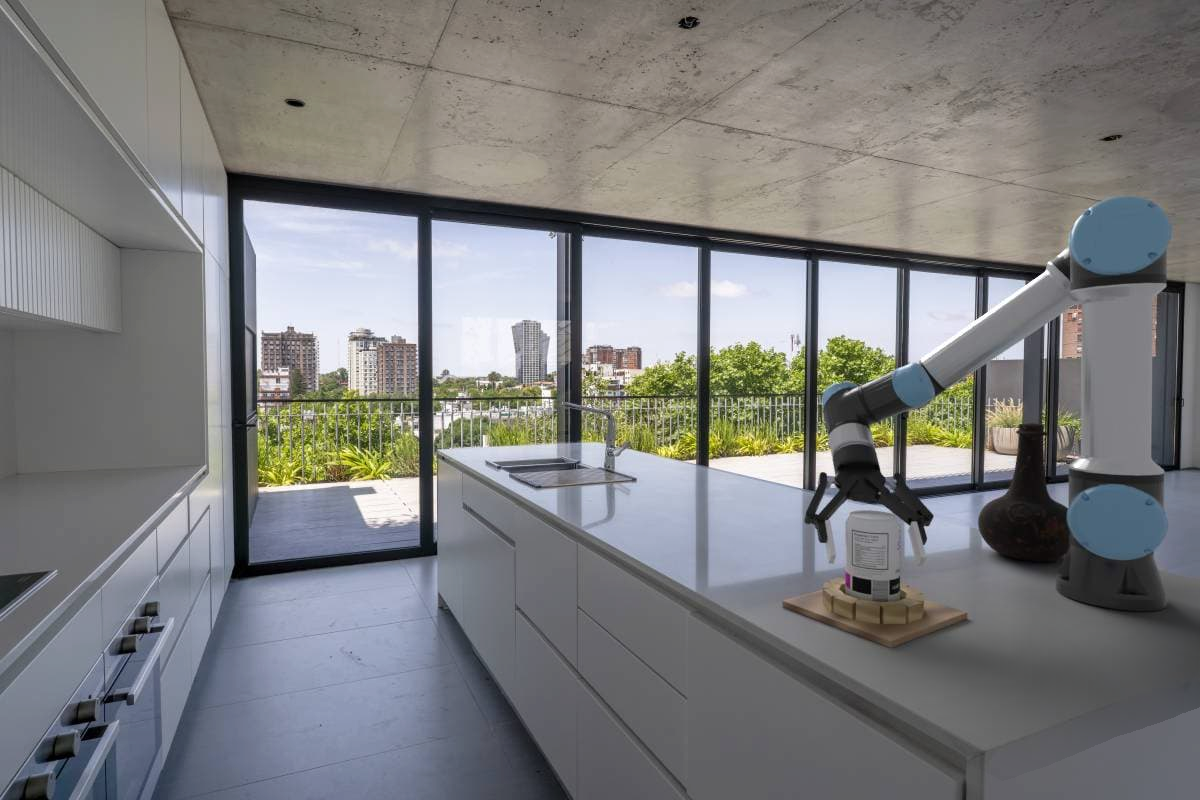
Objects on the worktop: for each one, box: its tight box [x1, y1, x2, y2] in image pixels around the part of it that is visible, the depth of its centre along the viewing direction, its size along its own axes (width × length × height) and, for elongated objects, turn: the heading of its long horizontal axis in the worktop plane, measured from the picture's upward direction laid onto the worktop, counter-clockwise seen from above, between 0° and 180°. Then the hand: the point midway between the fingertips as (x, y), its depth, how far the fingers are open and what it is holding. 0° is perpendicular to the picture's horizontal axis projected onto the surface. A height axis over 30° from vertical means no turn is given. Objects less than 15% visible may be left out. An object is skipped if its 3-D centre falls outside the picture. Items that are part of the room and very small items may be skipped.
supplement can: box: [844, 509, 901, 602], centre depth 108 cm, size 8×8×15 cm
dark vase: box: [977, 422, 1069, 563], centre depth 139 cm, size 18×18×28 cm
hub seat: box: [781, 576, 968, 649], centre depth 108 cm, size 20×20×4 cm
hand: (876, 560), depth 105 cm, fingers open, 13 cm apart
